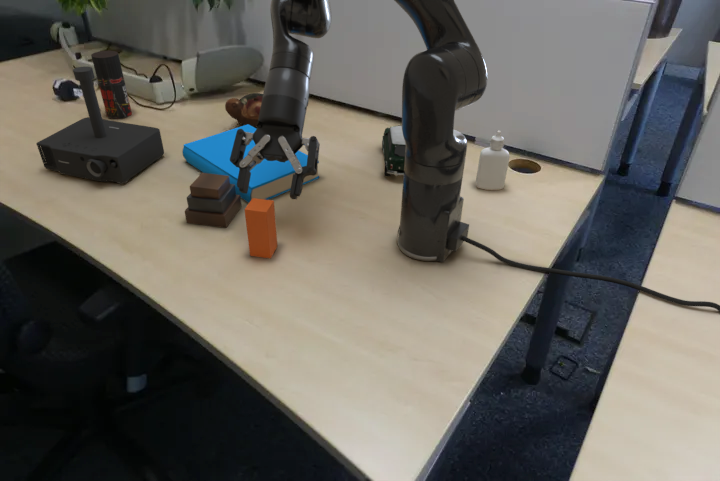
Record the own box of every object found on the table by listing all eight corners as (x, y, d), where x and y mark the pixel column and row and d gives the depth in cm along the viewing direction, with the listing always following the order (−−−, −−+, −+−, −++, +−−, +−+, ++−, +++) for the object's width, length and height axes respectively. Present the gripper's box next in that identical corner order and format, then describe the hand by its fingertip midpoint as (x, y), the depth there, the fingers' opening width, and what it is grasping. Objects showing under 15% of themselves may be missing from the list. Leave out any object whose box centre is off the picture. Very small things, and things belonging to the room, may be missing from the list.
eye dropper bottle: (481, 178, 114) (490, 124, 107) (506, 186, 111) (517, 131, 104) (472, 186, 111) (480, 131, 104) (498, 194, 108) (508, 138, 101)
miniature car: (420, 145, 126) (423, 112, 122) (428, 183, 112) (432, 147, 107) (381, 144, 126) (382, 111, 122) (384, 182, 112) (386, 146, 107)
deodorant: (107, 111, 139) (92, 51, 131) (132, 109, 141) (118, 49, 132) (106, 120, 135) (90, 58, 126) (131, 117, 136) (117, 56, 128)
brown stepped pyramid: (241, 206, 103) (237, 173, 99) (226, 227, 97) (221, 193, 93) (204, 201, 104) (198, 168, 100) (186, 222, 98) (180, 188, 94)
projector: (37, 175, 111) (2, 78, 100) (93, 142, 124) (68, 53, 113) (117, 190, 107) (91, 91, 95) (167, 155, 120) (148, 63, 108)
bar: (277, 246, 93) (273, 200, 87) (270, 258, 90) (266, 212, 84) (257, 243, 93) (252, 197, 88) (249, 255, 90) (244, 209, 85)
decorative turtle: (219, 126, 133) (215, 93, 129) (272, 116, 141) (271, 85, 137) (239, 138, 126) (236, 104, 122) (293, 126, 135) (292, 94, 131)
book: (247, 123, 125) (319, 158, 110) (249, 141, 127) (320, 177, 113) (179, 145, 115) (249, 187, 100) (183, 164, 117) (252, 207, 103)
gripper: (236, 88, 89) (218, 184, 86) (321, 96, 87) (305, 193, 84) (251, 108, 96) (234, 196, 94) (330, 115, 94) (314, 205, 92)
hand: (267, 195), depth 89 cm, fingers open, 8 cm apart
